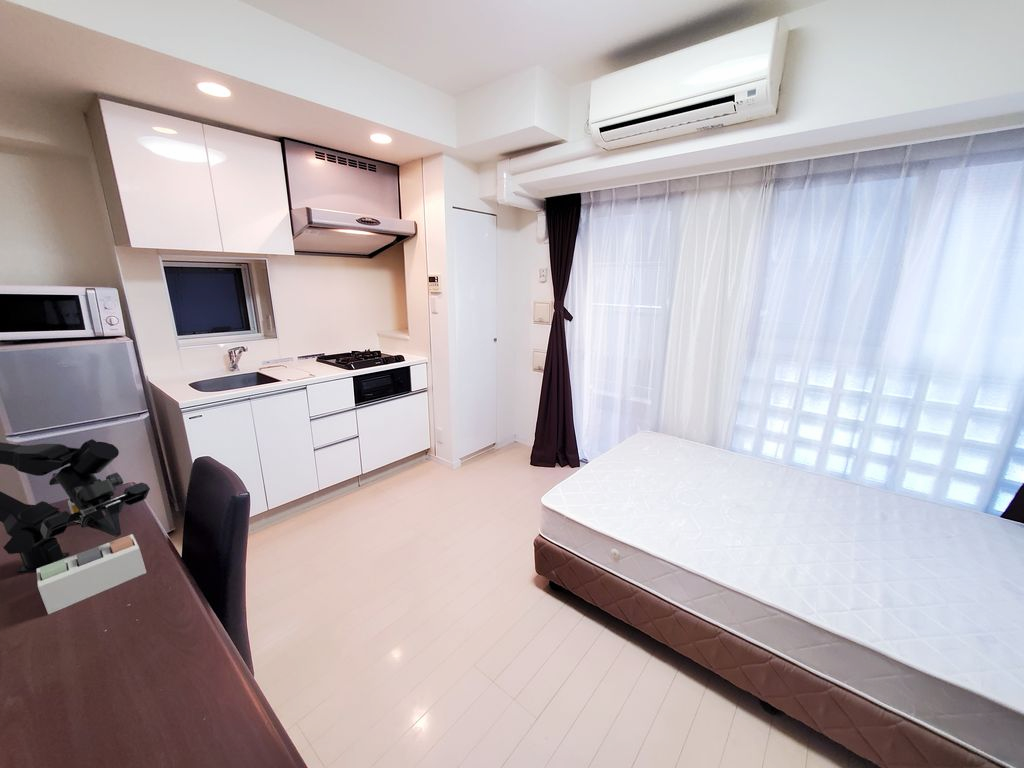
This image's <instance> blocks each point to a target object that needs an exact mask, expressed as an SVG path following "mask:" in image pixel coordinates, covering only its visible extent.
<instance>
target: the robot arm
mask: <svg viewBox="0 0 1024 768" xmlns="http://www.w3.org/2000/svg"><path fill="white" fill-rule="evenodd" d="M119 454H120V451H119V449H118V447H116V446H115V445H114V444H112V443H108V442H104V441H97V440H95V439H93V438H91V439H89V440H87V441H85V442H84V443H83V444H81V446H80V447H70V446H67V445H64V444H61V443H40V444H30V445H27V444H26V445H22V444H21V445H20V444H16V443H15V444H14V443H8V442H1V441H0V465H6V466H10V467H13V468H15V469H16V470H17V471H18V472H20V473H24V474H29V475H31V476H36V477H37V476H38V477H39V476H42V477H43V476H45V475H48V474H51V473H52V472H54V471H57V470H59V469H60V470H59V471H58V472H55V473H52V477H51V479H50V480H49V482H48V485H50V486H54V485H60V486H61V488H62V489H63V490H64V492H65V493H66V494H67V496H68V497H69V499H70V501H71V503H74V504H75V505H76V507H77V508H78V510H79V511H78V512H76V513H73V514H70V513H69V511H66V510H64V511H61V508H59V507H56V506H53V505H51V504H50V503H48V502H46V501H44V500H43V501H39V502H38V503H35V504H27V503H24V502H22V501H20V500H19V499H17V498H14V497H12V496H11V495H9V494H7V493H5V492H3V491H0V522H1V523H2V524H3V527H4V529H5V532H6V535H8V536H10V539H9V540H8V541H7V542H6V544H5V545H4V546H3V547H2V548H3V550H4V551H6V553H7V554H9V555H13V554H14V555H15V554H19V557H20V558H21V561H22V563H23V564H22V566H21V567H20V568H18V569H17V570H16V571H17V572H18V573H30V572H32V573H34V572H36V573H37V568H40V567H43V566H46V565H48V564H51V563H54V562H57V561H59V560H62V559H65V558H68V557H69V556H71V555H70V553H71V552H63V550H62V547H61V545H60V543H59V542H58V539H57V536H59V535H61V534H64V533H65V532H66V530H67V529H68V525H70V524H73V523H74V522H76V521H78V520H79V522H81V524H80V528H82V529H84V528H87V527H88V528H92V529H94V530H98V531H101V532H103V533H106V534H108V535H110V536H113V537H115V538H118V537H120V536H121V535H122V530H121V523H120V513H121V512H122V509H123V507H124V505H127V506H132V505H135V504H138V503H140V502H143V501H144V500H146V499H147V497H148V495H149V492H150V490H151V487H149V485H148V484H147V483H144V482H142V481H140V482H139V483H136V484H133V485H130V486H128V487H126V488H124V490H123V493H122V494H120V495H118V496H115V497H113V496H114V495H115V492H114V491H117V487H119V486H122V485H123V484H124V479H123V478H122V476H121V475H120V474H119V473H118V472H114V473H111V474H108V475H107V476H105V479H104V480H101V479H100V478H99V479H98V478H97V477H96V475H95V474H99V473H101V472H103V470H104V469H106V467H108V466H109V465H110V464H111V463H112V462H113V460H115V459H116V458H117V457H118V456H119ZM112 497H113V498H112ZM103 511H104V513H105V515H104V513H103Z"/></svg>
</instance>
